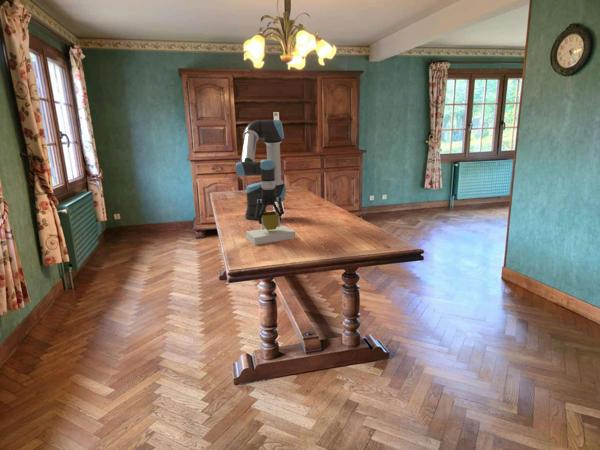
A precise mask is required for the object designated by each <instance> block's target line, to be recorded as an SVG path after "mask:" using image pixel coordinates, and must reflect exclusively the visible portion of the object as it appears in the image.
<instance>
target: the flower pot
mask: <svg viewBox="0 0 600 450" xmlns="http://www.w3.org/2000/svg"><path fill="white" fill-rule="evenodd" d="M262 218H263V228H264V229H266V230H273V229H276V228H277V226H278V220H279V214H278V213H277V212H276V211H275V210H273V211H267V212H264V213H263V216H262Z"/></svg>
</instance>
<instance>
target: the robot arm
mask: <svg viewBox="0 0 600 450" xmlns="http://www.w3.org/2000/svg"><path fill="white" fill-rule="evenodd" d="M284 138H285V133H284V128H283V123H282V121H281V120H280V119H261V120H260V119H257V120H254V121H252V122H249V124H248V125H247V126H246V127H245V128H244V130H243V134H242V139H243V145H242V150H241V157H240V158H241V159H240V161H238V162H236V164H235V172H236V176H243V177H247V176H260V179H261V181H260V182H255V183H251V184H248V185H247V186H246V188H245V189H246V191H245V192H246V193H245V194H246V211H245V214H244V215H245V216H244V217H245V219H246V220H249V221H251V220H252V221H258V224H259V225H260V229H262V230H264V229H265V227H264V225H263V218H262V216H263V213H264V212H268V211H267V210H266V208H267V207H269V206H272V207H273V209H274V211H276V212H277V213H278V214H279V220H278V226H277V227H280V226H281V224H280V223H281V221H282V215H284V214H285V211H284V208H283V203H282V202H284V201H285V198H286V190H287V184H285V183H284V181H283V179H282V166H281V165H282V164H281V145H280V144H281V143H283V139H284ZM259 140H263V143H264V144H265V145H266V159H261V160H260V161H255V156H256V148H257V142H258V141H259ZM276 203H277V204H276Z"/></svg>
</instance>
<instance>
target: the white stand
mask: <svg viewBox="0 0 600 450" xmlns="http://www.w3.org/2000/svg"><path fill="white" fill-rule="evenodd" d="M245 237H246V239H247V240H248V241H249V242H251V243H252V244H253V245H254V246H257V245H258V246H259V245H263V244H270V243H275V242H280V241H286V240H292V239H296V231H295V230H294V229H292V228H290V227H289V226H287V225H280V227H277V228H276V229H273V230H266V228H264V230H262V229H261V228H260V229H254V230H248V231H245Z"/></svg>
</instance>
